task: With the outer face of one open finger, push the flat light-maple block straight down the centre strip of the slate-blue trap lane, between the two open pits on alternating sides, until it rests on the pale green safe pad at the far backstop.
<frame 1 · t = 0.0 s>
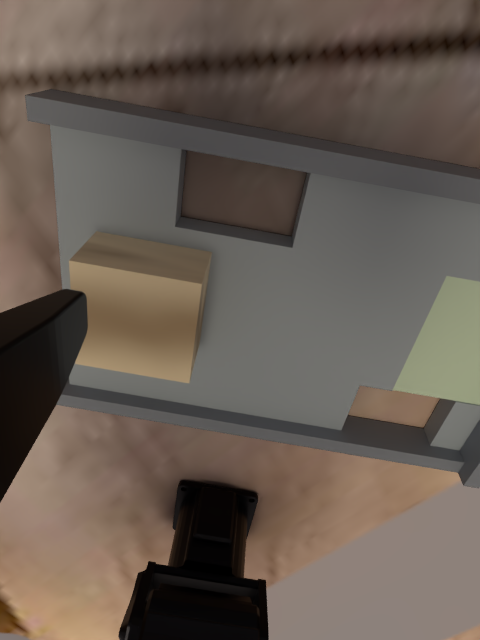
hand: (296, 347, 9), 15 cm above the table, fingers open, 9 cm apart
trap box: (293, 303, 26), on the table
maple block: (151, 291, 24), point 1 cm above the table, touching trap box
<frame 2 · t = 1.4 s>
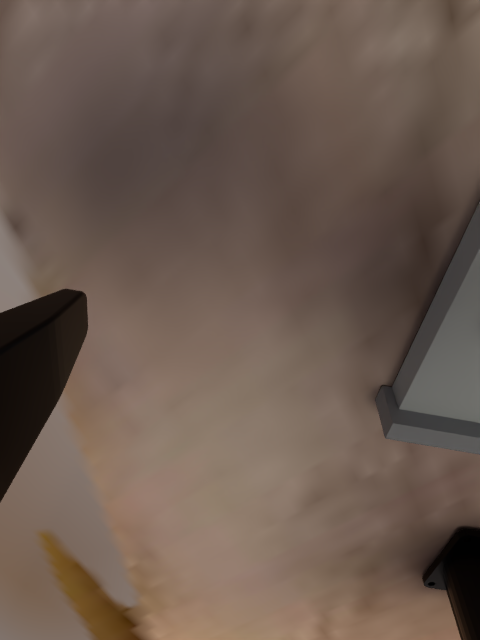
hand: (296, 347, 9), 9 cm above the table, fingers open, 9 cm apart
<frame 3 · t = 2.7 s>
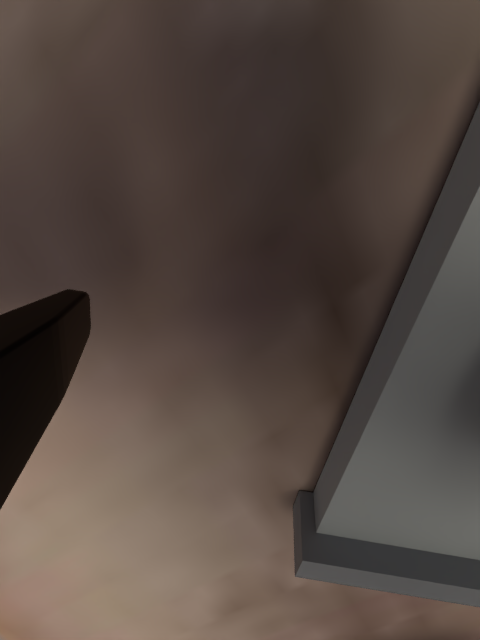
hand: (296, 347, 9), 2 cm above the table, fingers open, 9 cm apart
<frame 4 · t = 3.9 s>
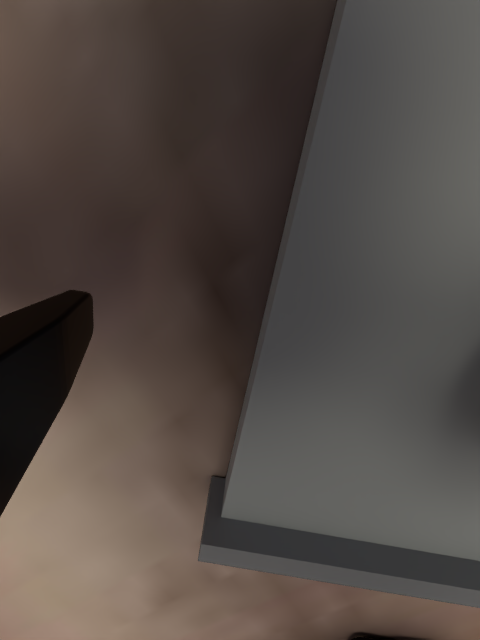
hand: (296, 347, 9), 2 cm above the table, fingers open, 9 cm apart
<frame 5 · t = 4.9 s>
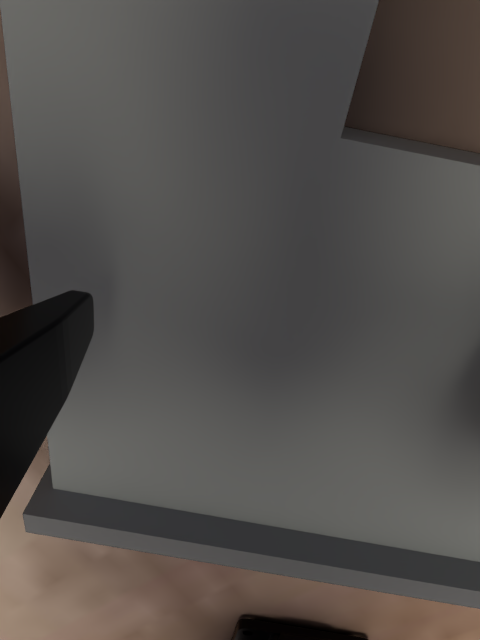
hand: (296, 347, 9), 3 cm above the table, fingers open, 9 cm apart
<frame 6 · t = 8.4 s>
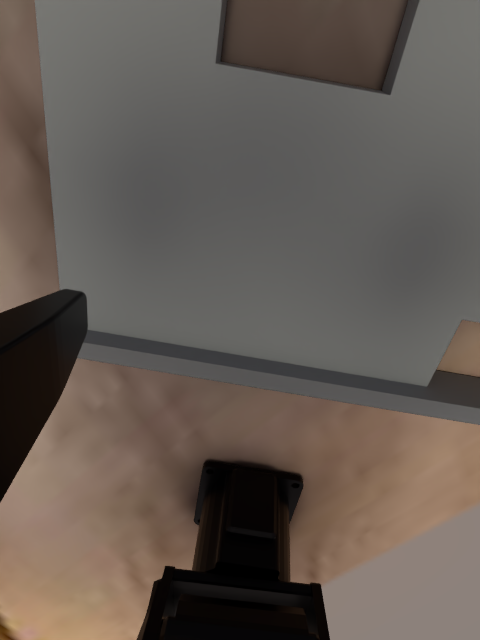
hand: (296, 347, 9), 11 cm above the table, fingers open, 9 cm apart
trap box: (373, 201, 18), on the table
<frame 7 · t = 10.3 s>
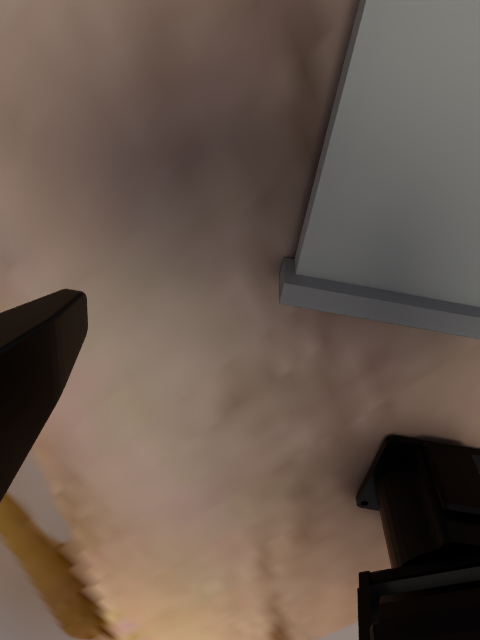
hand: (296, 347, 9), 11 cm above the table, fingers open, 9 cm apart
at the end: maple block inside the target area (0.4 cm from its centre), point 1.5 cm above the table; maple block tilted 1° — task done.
